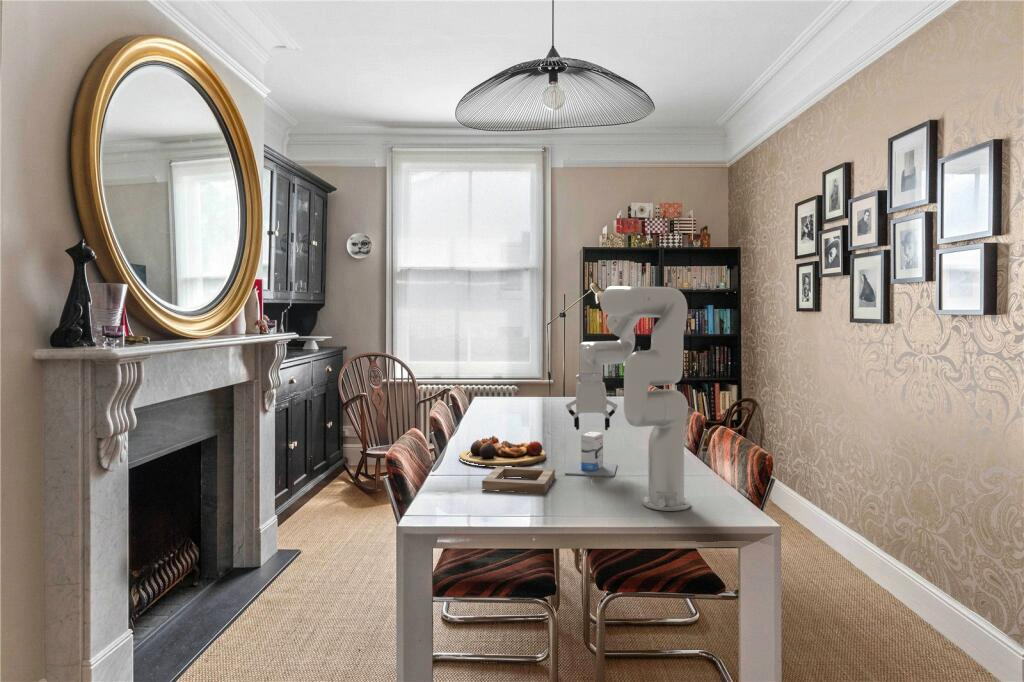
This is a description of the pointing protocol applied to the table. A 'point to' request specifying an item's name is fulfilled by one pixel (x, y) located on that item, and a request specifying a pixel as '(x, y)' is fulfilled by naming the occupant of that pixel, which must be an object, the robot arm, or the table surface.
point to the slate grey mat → (606, 471)
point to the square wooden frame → (539, 486)
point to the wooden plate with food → (503, 453)
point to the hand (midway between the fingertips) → (592, 429)
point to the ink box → (591, 451)
